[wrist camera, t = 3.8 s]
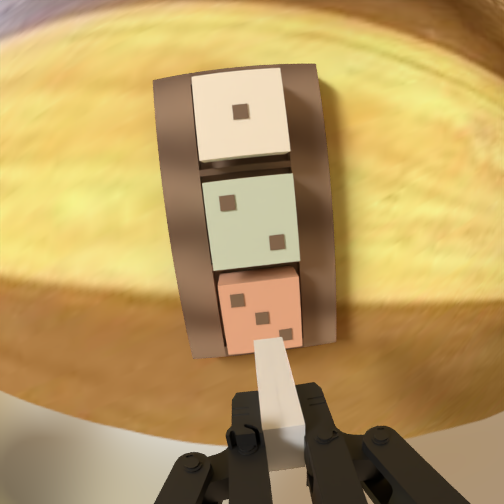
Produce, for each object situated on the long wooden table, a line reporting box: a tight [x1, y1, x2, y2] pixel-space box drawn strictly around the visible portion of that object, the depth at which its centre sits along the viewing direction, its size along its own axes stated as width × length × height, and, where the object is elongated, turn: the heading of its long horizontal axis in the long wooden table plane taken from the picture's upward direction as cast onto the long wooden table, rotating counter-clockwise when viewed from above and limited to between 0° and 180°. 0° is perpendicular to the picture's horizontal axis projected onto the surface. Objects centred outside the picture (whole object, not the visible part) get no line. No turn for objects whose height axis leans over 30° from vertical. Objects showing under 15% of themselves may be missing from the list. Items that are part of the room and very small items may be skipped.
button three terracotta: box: [218, 265, 302, 355], centre depth 25 cm, size 6×6×3 cm
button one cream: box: [191, 68, 290, 163], centre depth 21 cm, size 6×6×3 cm
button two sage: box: [202, 173, 300, 271], centre depth 22 cm, size 6×6×3 cm
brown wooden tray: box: [153, 64, 336, 359], centre depth 25 cm, size 24×13×2 cm, turn 6°
